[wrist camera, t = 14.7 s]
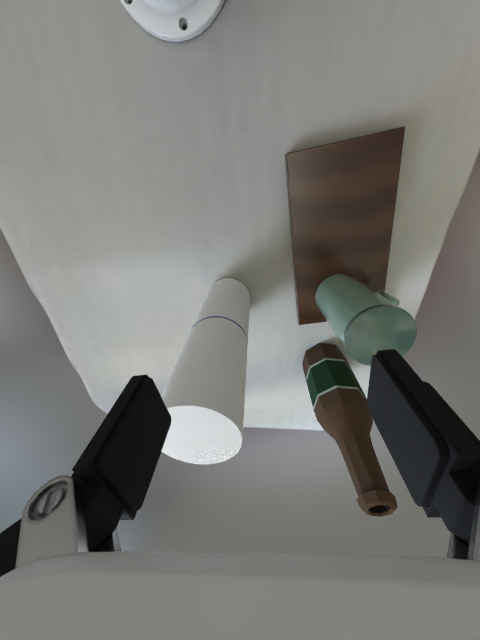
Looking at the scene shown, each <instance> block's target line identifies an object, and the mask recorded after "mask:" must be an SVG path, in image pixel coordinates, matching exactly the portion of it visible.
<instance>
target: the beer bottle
mask: <svg viewBox="0 0 480 640" xmlns="http://www.w3.org/2000/svg"><path fill="white" fill-rule="evenodd" d="M303 370H304V374H305V378H306V382H307V385H308V389H309V393H310V397H311V401H312V405H313V409H314V412H315V415H316V418H317V420H318V422H319V423H320V425H321V426H322V427H323V429H324V430H325V431H326V432H327V433H328V434H329V435H330V436H332V437H333V438H334V439H335V440H336V442H337V444H338V446H339V448H340V450H341V452H342V455H343V457H344V460H345V463H346V465H347V468H348V470H349V473H350V475H351V478H352V481H353V483H354V486H355V489H356V491H357V494H358V496H359V497H358V499H357V502H358V504H359V506H360V507H361V509H362V510H363V511H364V512H365V513H366V514H367V515H371V516H385V515H389V514H391V513H393V511H395V509H396V508H397V503H396V498H395V496H394V495H393V494H392V493H391V492H390V491H389V489H388V487H387V484H386V481H385V478H384V475H383V473H382V470H381V468H380V465H379V462H378V459H377V457H376V454H375V451H374V449H373V446H372V442H371V438H370V431H371V427H372V423H373V418H372V416H371V414H370V412H369V409H368V406H367V398H366V397H365V395H364V393H363V391H362V389H361V387H360V385H359V383H358V381H357V379H356V377H355V375H354V373H353V371H352V369H351V367H350V366H349V364H348V362H347V360H346V358H345V357H344V355H343V354H342V353H341V352H340V350H339V349H338V348H337V347H336V345H330V344H317V345H316V346H314V347H312V348H311V349H309V350H307V351H306V353H305V357H304V360H303Z"/></svg>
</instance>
